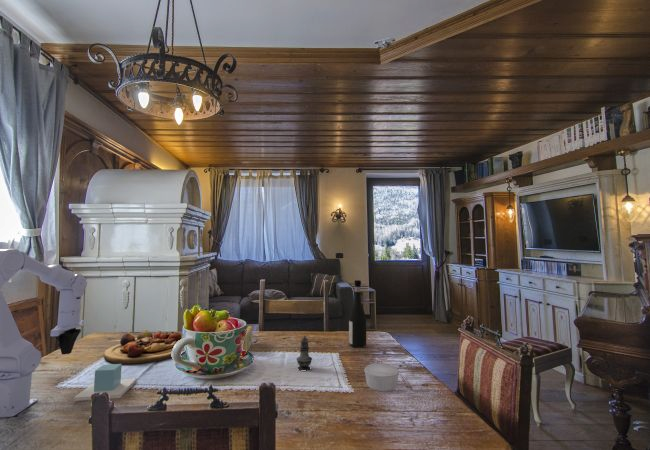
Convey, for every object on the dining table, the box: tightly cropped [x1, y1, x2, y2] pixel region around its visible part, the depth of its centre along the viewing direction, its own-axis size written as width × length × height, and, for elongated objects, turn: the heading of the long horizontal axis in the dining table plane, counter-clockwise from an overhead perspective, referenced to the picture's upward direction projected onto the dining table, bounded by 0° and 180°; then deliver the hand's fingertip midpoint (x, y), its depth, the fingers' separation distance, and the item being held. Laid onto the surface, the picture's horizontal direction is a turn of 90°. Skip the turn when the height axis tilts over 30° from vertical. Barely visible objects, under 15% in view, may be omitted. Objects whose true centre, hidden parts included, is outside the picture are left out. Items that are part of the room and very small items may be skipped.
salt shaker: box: [296, 335, 313, 372], centre depth 119 cm, size 6×6×12 cm
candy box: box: [243, 325, 253, 352], centre depth 143 cm, size 16×2×8 cm, turn 4°
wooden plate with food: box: [103, 329, 182, 365], centre depth 137 cm, size 32×32×8 cm
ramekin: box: [363, 363, 400, 392], centre depth 105 cm, size 11×11×5 cm
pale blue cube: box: [93, 363, 123, 392], centre depth 99 cm, size 5×5×6 cm
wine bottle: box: [348, 279, 367, 348], centre depth 150 cm, size 8×8×30 cm
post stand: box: [73, 378, 137, 402], centre depth 99 cm, size 12×12×5 cm
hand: (66, 353), depth 104 cm, fingers closed
